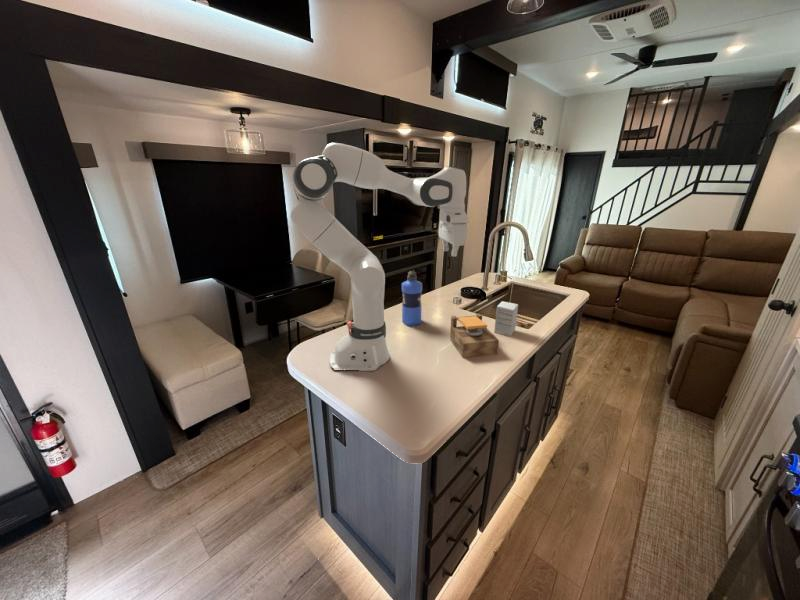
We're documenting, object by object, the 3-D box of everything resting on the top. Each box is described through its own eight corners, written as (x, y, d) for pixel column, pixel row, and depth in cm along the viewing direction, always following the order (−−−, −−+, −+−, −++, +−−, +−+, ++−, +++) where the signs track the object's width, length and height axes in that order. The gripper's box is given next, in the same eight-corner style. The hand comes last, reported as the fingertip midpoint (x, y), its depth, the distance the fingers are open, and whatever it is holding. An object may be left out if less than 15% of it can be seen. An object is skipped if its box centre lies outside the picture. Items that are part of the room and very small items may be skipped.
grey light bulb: (468, 350, 120) (469, 334, 117) (462, 342, 126) (463, 327, 123) (483, 348, 121) (485, 332, 118) (477, 341, 127) (478, 325, 124)
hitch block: (462, 357, 116) (464, 333, 112) (448, 337, 131) (449, 316, 128) (497, 353, 118) (499, 330, 115) (479, 334, 133) (481, 313, 130)
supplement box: (498, 326, 141) (501, 300, 136) (515, 330, 137) (519, 304, 132) (493, 332, 135) (496, 306, 131) (510, 337, 131) (514, 309, 127)
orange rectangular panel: (467, 329, 117) (467, 326, 117) (456, 319, 128) (456, 316, 128) (486, 327, 119) (487, 324, 118) (474, 317, 130) (474, 315, 129)
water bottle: (401, 326, 142) (401, 273, 133) (402, 317, 151) (401, 268, 142) (421, 326, 142) (422, 273, 133) (421, 317, 151) (422, 268, 142)
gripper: (435, 213, 121) (434, 248, 125) (452, 218, 102) (450, 259, 107) (450, 213, 122) (448, 247, 126) (470, 218, 103) (467, 259, 108)
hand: (449, 253), depth 116 cm, fingers open, 8 cm apart
